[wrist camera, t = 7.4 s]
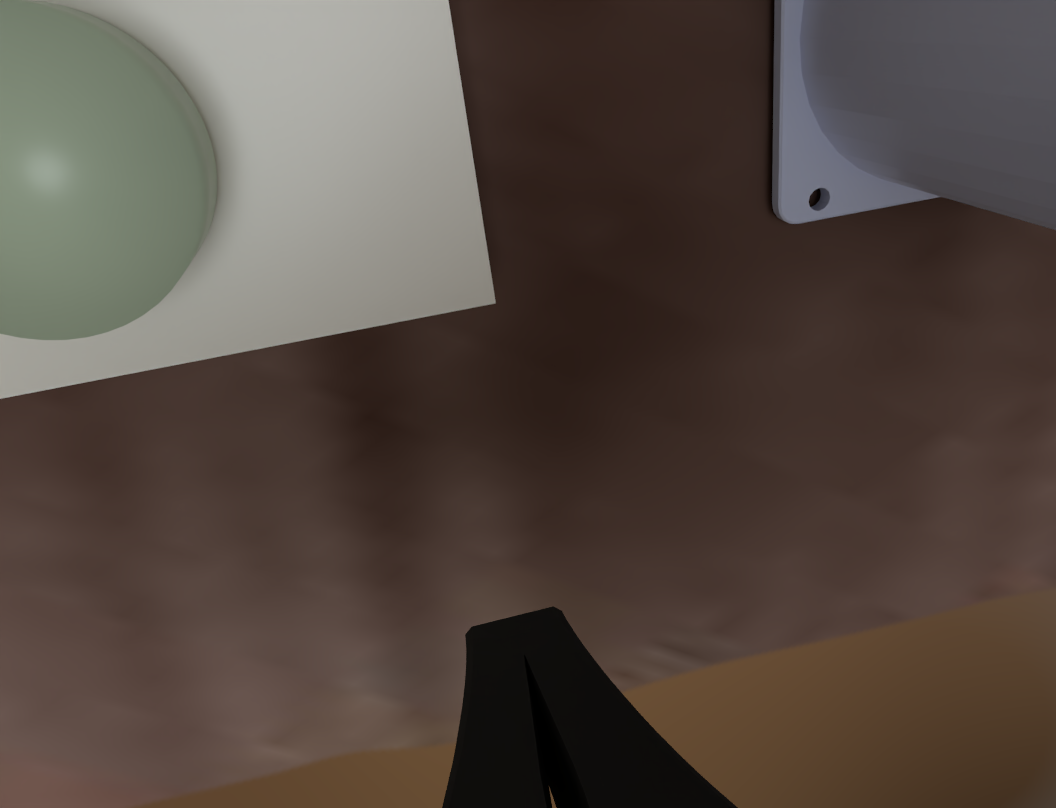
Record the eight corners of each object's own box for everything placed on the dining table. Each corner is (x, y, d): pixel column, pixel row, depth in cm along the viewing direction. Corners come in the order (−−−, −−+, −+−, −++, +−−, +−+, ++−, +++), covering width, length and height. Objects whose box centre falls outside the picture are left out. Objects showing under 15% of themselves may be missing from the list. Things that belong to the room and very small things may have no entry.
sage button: (162, -22, 12) (136, -28, 11) (252, 279, 15) (241, 308, 13) (-179, 24, 12) (-255, 24, 10) (-30, 331, 14) (-75, 367, 13)
